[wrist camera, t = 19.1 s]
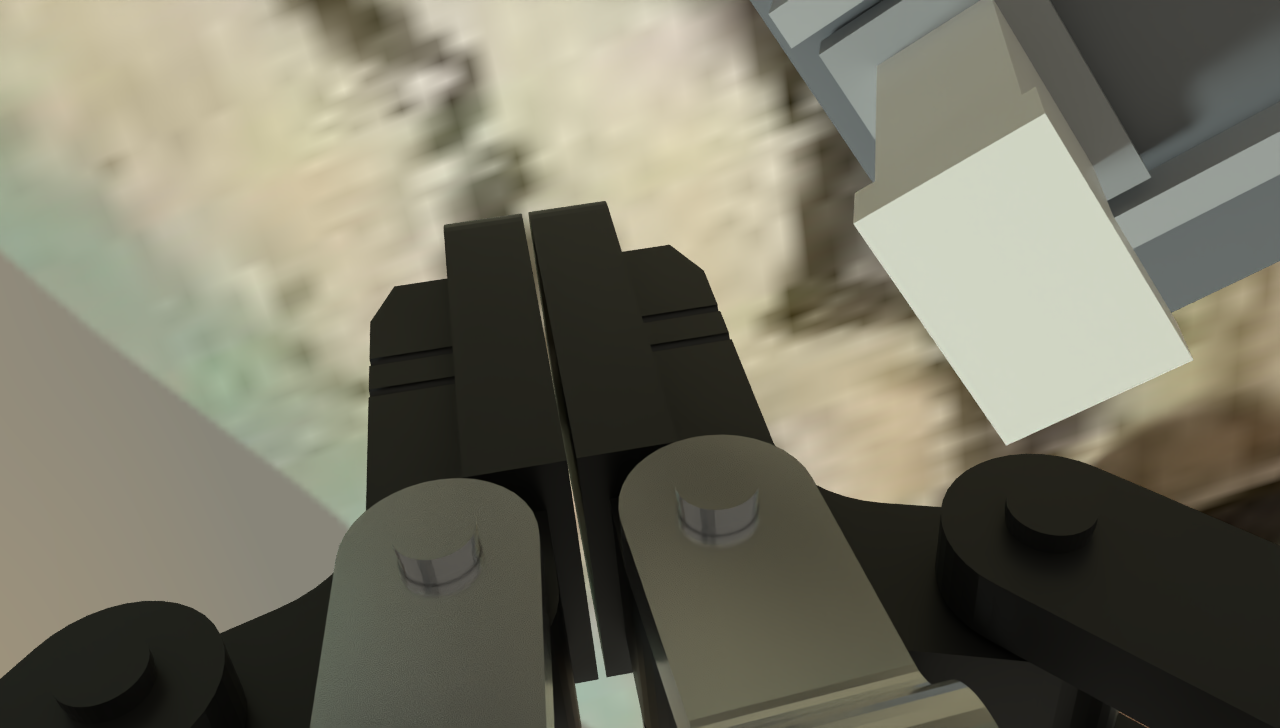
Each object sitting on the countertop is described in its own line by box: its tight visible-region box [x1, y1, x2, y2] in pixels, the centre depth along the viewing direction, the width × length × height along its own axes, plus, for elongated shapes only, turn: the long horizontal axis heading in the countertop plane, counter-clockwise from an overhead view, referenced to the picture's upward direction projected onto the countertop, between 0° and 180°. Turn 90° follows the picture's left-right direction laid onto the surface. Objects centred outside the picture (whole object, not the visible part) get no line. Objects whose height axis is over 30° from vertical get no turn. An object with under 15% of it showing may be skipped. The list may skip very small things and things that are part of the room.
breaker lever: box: [819, 0, 1193, 445], centre depth 25 cm, size 7×5×11 cm
